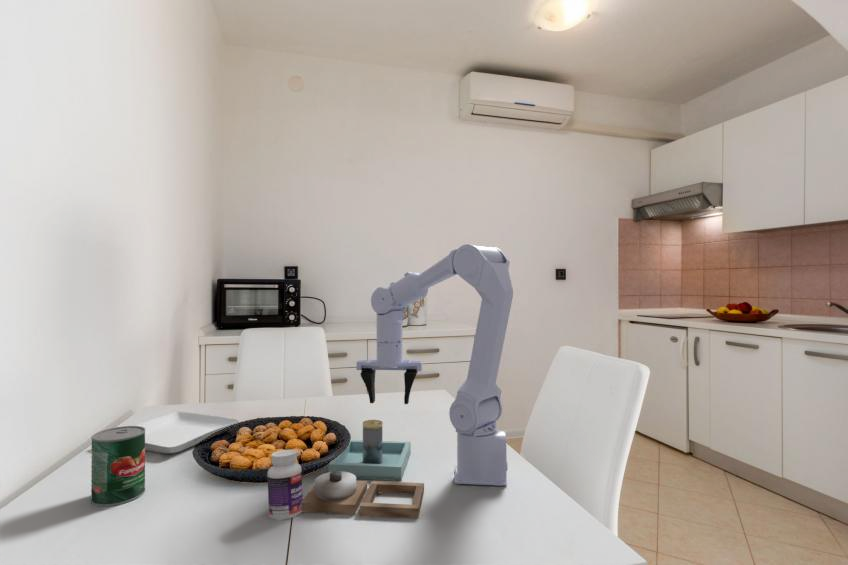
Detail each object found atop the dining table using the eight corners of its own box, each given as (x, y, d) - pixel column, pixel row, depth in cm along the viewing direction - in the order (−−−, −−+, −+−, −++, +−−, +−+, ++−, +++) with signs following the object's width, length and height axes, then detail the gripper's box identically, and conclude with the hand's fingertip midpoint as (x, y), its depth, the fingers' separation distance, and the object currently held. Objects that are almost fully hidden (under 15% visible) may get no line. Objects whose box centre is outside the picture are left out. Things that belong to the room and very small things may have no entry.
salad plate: (172, 462, 97) (172, 445, 97) (98, 450, 104) (98, 435, 104) (242, 431, 117) (242, 418, 117) (177, 423, 124) (177, 410, 124)
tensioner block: (424, 491, 83) (424, 466, 83) (418, 518, 73) (418, 489, 73) (318, 487, 85) (318, 462, 85) (300, 512, 75) (300, 484, 75)
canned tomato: (133, 504, 78) (133, 438, 78) (81, 508, 77) (81, 441, 77) (152, 484, 86) (152, 424, 86) (105, 487, 84) (105, 426, 84)
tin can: (385, 459, 96) (385, 420, 96) (378, 466, 93) (378, 426, 93) (366, 457, 98) (367, 419, 98) (359, 464, 94) (359, 424, 94)
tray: (410, 453, 101) (410, 441, 101) (401, 480, 88) (401, 467, 88) (347, 451, 103) (347, 439, 103) (328, 477, 89) (328, 464, 89)
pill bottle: (298, 520, 73) (295, 456, 74) (264, 522, 73) (261, 458, 74) (307, 506, 78) (304, 447, 79) (275, 508, 78) (273, 449, 79)
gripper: (423, 339, 107) (423, 398, 107) (361, 339, 109) (361, 397, 109) (420, 343, 100) (420, 407, 100) (354, 342, 102) (354, 405, 102)
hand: (389, 402), depth 104 cm, fingers open, 7 cm apart
